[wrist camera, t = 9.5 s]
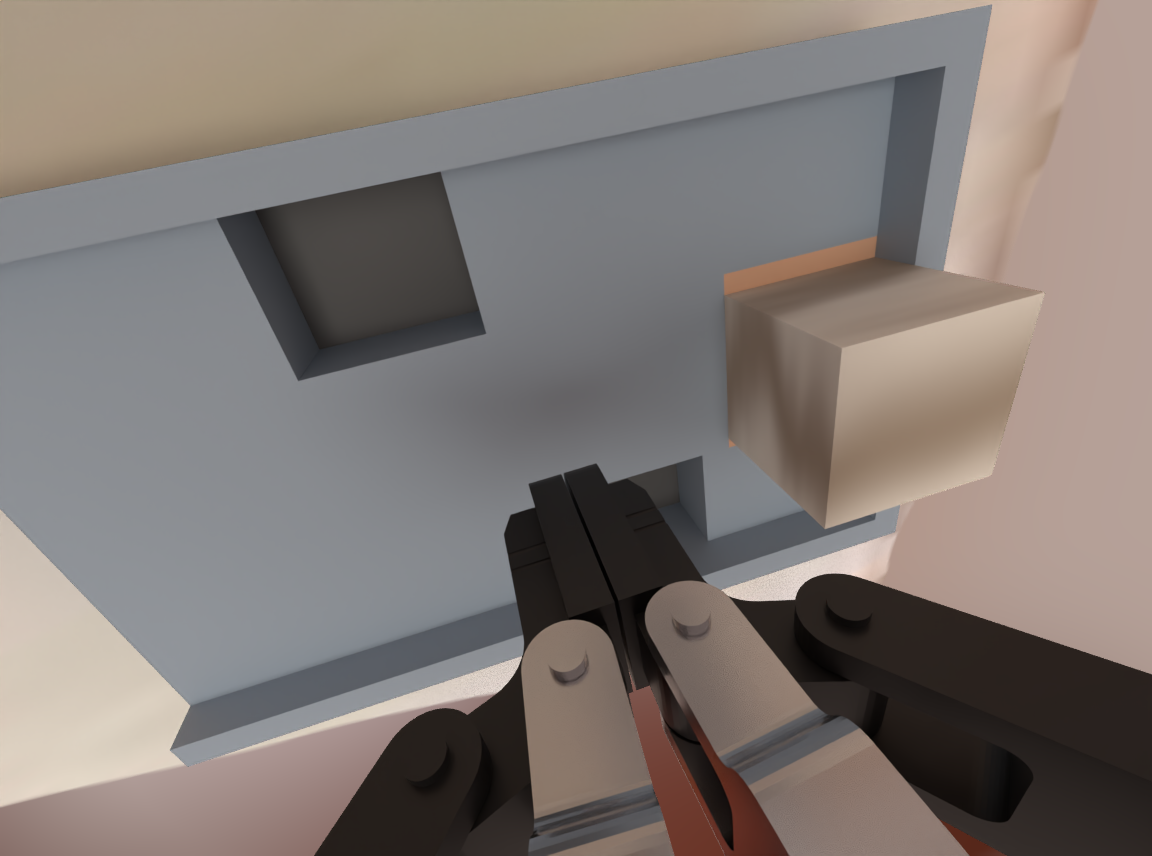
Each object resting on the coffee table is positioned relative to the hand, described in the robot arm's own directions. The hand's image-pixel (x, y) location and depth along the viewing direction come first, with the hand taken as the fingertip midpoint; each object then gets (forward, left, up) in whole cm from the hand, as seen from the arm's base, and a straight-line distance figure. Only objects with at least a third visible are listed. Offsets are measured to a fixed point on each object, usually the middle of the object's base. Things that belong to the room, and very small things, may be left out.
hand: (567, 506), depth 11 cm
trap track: (0, -1, -8) cm, 8 cm away
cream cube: (0, +9, -5) cm, 10 cm away
